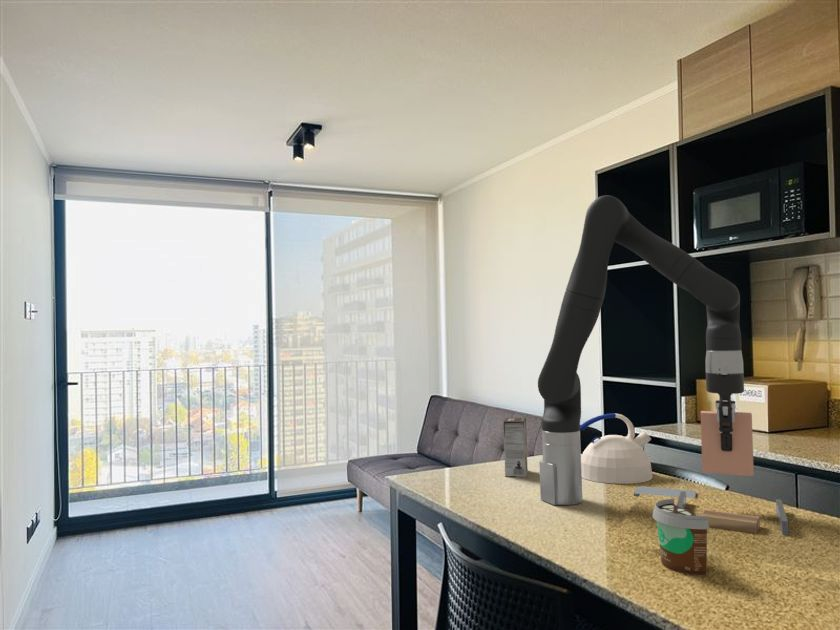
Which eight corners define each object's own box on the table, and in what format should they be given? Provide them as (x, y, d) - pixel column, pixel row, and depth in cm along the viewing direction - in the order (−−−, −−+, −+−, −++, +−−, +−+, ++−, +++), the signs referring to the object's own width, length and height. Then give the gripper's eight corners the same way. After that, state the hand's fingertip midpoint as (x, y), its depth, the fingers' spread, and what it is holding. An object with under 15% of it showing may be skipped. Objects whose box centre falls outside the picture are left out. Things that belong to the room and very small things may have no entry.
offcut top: (756, 533, 120) (756, 523, 120) (701, 525, 126) (700, 515, 126) (760, 526, 124) (759, 516, 124) (705, 519, 130) (705, 509, 130)
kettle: (665, 483, 168) (662, 416, 169) (588, 485, 168) (586, 418, 169) (639, 468, 188) (637, 408, 189) (571, 469, 188) (569, 410, 189)
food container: (642, 554, 114) (640, 499, 114) (674, 552, 114) (672, 497, 115) (675, 580, 102) (672, 518, 102) (711, 578, 102) (708, 516, 103)
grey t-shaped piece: (694, 500, 149) (694, 498, 149) (633, 495, 156) (633, 493, 156) (696, 493, 157) (696, 490, 157) (638, 488, 163) (637, 486, 163)
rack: (788, 542, 118) (787, 521, 118) (675, 530, 127) (674, 510, 127) (782, 518, 134) (781, 499, 134) (681, 509, 143) (680, 491, 143)
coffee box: (506, 470, 189) (505, 417, 190) (528, 470, 188) (526, 417, 189) (504, 476, 180) (503, 421, 181) (527, 477, 179) (525, 421, 180)
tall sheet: (753, 476, 133) (751, 414, 133) (702, 472, 137) (700, 412, 137) (753, 472, 136) (751, 412, 137) (703, 468, 141) (701, 410, 141)
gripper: (706, 369, 145) (709, 443, 145) (704, 372, 133) (707, 453, 132) (742, 369, 142) (745, 445, 141) (744, 373, 129) (746, 456, 129)
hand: (726, 448), depth 137 cm, fingers closed on tall sheet, 4 cm apart
